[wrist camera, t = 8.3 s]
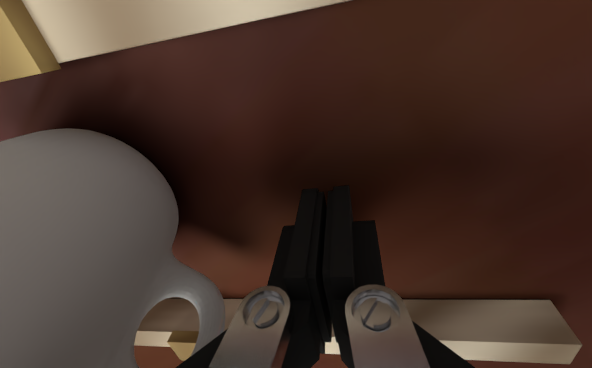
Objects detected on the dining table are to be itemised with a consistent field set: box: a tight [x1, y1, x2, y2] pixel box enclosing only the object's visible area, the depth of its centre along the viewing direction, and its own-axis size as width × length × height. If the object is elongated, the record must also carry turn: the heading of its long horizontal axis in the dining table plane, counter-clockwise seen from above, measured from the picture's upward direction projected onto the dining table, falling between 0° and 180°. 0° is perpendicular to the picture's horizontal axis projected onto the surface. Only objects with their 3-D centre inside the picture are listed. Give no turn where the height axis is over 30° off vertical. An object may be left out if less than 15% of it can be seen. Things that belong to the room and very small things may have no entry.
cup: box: [0, 128, 225, 368], centre depth 9 cm, size 11×8×8 cm
